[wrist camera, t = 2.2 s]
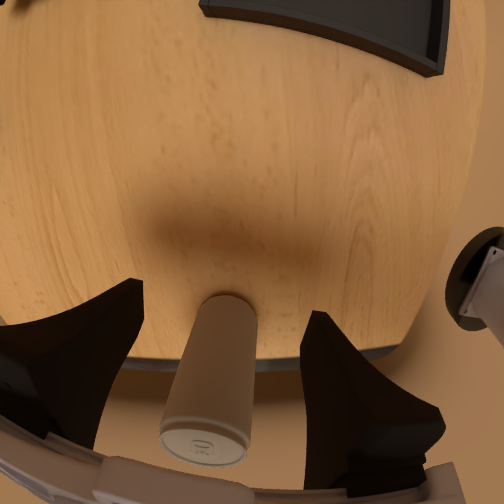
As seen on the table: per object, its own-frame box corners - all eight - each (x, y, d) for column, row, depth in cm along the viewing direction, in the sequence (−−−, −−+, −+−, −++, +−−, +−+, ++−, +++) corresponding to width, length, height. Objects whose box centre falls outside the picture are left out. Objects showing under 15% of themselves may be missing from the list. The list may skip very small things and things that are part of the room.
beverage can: (197, 334, 24) (161, 459, 13) (198, 286, 22) (149, 418, 11) (254, 343, 24) (244, 473, 13) (262, 295, 22) (255, 436, 11)
